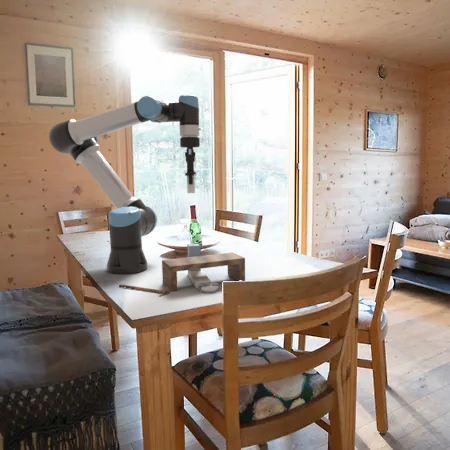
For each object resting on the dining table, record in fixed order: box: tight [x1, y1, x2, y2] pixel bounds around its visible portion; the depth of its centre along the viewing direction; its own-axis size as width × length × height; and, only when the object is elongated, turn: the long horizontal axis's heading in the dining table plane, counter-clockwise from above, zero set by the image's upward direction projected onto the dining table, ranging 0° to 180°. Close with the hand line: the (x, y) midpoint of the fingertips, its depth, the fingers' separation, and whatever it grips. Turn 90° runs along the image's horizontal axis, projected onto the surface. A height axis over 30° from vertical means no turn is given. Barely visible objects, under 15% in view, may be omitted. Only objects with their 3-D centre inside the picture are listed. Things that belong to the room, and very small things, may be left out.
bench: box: [161, 252, 246, 292], centre depth 142 cm, size 26×10×8 cm, turn 114°
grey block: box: [186, 243, 212, 289], centre depth 145 cm, size 5×18×11 cm, turn 15°
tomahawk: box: [118, 284, 171, 298], centre depth 133 cm, size 20×7×1 cm, turn 62°
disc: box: [198, 281, 220, 294], centre depth 134 cm, size 6×6×2 cm
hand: (191, 191), depth 166 cm, fingers open, 13 cm apart
